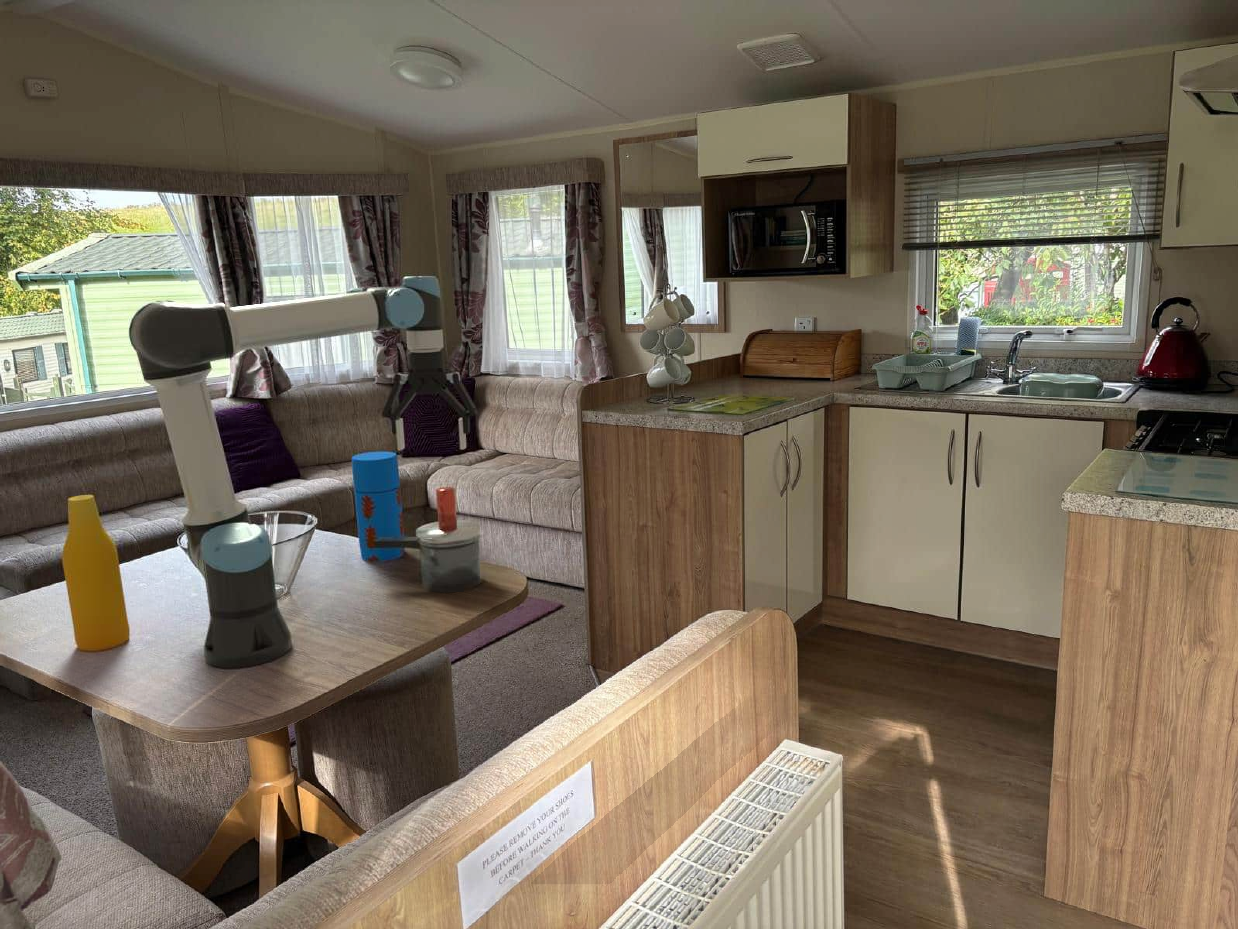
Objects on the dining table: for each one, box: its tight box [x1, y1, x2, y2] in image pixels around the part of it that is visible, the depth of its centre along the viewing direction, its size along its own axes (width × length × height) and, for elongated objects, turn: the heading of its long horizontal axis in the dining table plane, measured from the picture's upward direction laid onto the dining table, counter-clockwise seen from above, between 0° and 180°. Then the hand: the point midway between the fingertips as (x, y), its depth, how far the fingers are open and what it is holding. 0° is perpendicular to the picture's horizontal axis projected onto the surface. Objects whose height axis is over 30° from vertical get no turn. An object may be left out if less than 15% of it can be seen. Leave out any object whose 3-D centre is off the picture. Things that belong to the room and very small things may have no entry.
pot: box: [374, 534, 483, 593], centre depth 206 cm, size 14×23×11 cm, turn 87°
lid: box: [415, 486, 481, 545], centre depth 204 cm, size 14×14×10 cm
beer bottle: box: [61, 494, 131, 652], centre depth 176 cm, size 9×9×29 cm
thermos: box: [351, 451, 406, 562], centre depth 226 cm, size 11×11×25 cm
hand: (432, 448), depth 200 cm, fingers open, 13 cm apart
